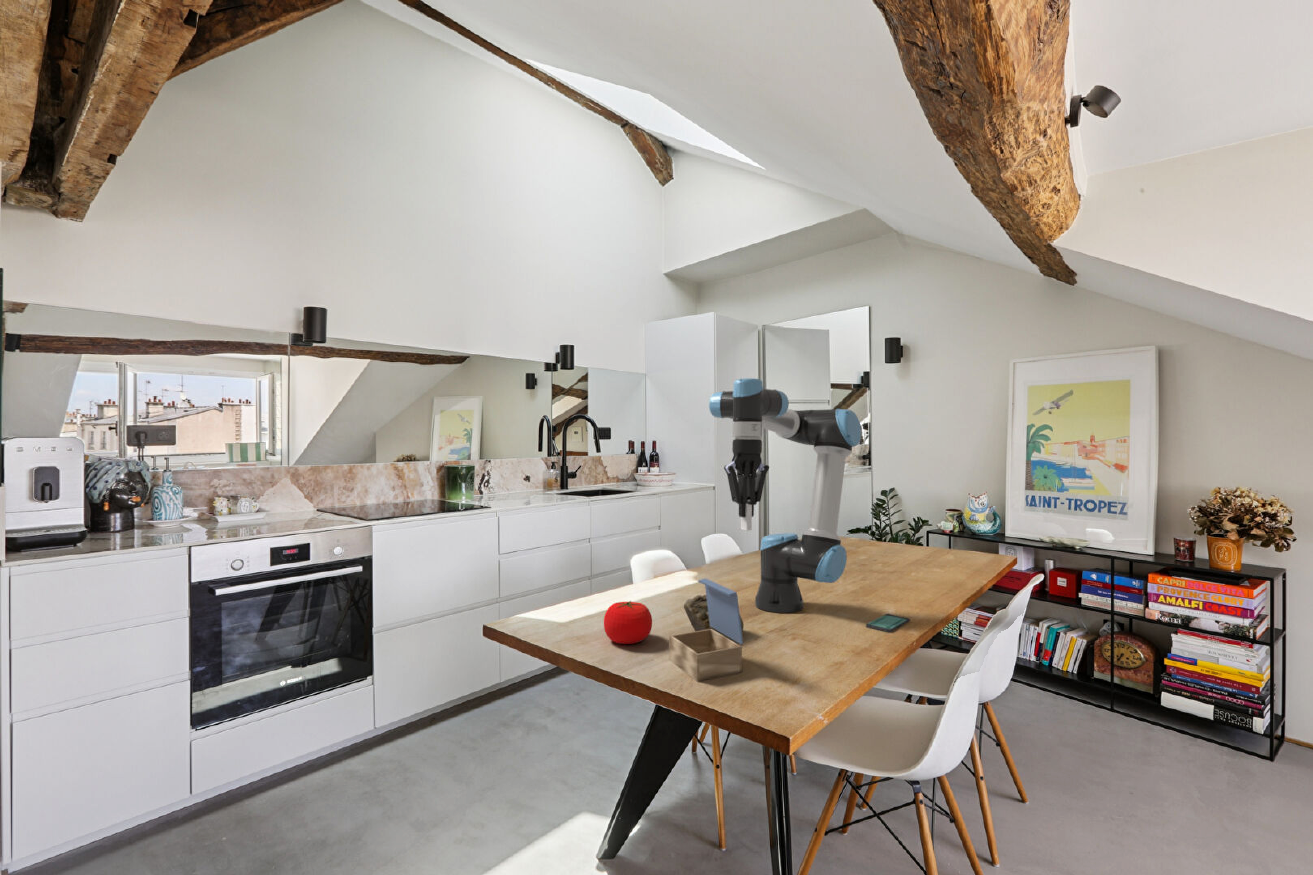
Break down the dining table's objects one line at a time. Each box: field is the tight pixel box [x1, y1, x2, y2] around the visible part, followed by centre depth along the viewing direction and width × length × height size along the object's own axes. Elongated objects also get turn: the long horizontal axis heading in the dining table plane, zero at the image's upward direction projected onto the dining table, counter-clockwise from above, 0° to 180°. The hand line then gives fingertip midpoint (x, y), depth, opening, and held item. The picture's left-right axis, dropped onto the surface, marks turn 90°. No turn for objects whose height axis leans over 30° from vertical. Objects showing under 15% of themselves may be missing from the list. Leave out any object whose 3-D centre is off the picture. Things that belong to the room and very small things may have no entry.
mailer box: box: [668, 629, 743, 682], centre depth 144 cm, size 14×12×6 cm
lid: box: [698, 578, 744, 645], centre depth 146 cm, size 14×12×2 cm
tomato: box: [603, 600, 653, 645], centre depth 162 cm, size 14×13×10 cm
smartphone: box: [865, 613, 911, 634], centre depth 175 cm, size 7×1×15 cm
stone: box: [683, 594, 745, 640], centre depth 165 cm, size 16×9×15 cm
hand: (746, 529), depth 155 cm, fingers closed
